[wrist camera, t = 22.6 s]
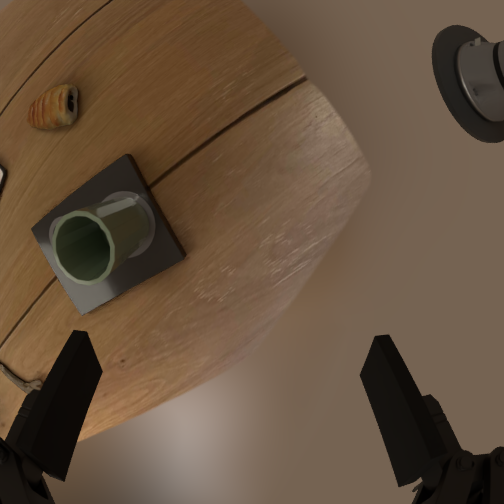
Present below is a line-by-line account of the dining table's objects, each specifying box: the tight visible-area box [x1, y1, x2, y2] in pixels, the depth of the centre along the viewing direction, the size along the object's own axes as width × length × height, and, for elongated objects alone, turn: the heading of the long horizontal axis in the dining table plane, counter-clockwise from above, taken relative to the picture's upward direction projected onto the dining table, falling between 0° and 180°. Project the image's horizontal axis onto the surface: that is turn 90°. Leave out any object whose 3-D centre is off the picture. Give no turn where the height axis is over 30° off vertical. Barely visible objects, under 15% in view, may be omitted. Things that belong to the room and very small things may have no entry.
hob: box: [31, 154, 187, 316], centre depth 38 cm, size 20×16×2 cm
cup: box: [52, 197, 149, 286], centre depth 31 cm, size 7×7×12 cm
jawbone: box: [0, 364, 43, 394], centre depth 45 cm, size 9×20×2 cm, turn 77°
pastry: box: [27, 84, 78, 130], centre depth 32 cm, size 9×7×4 cm
